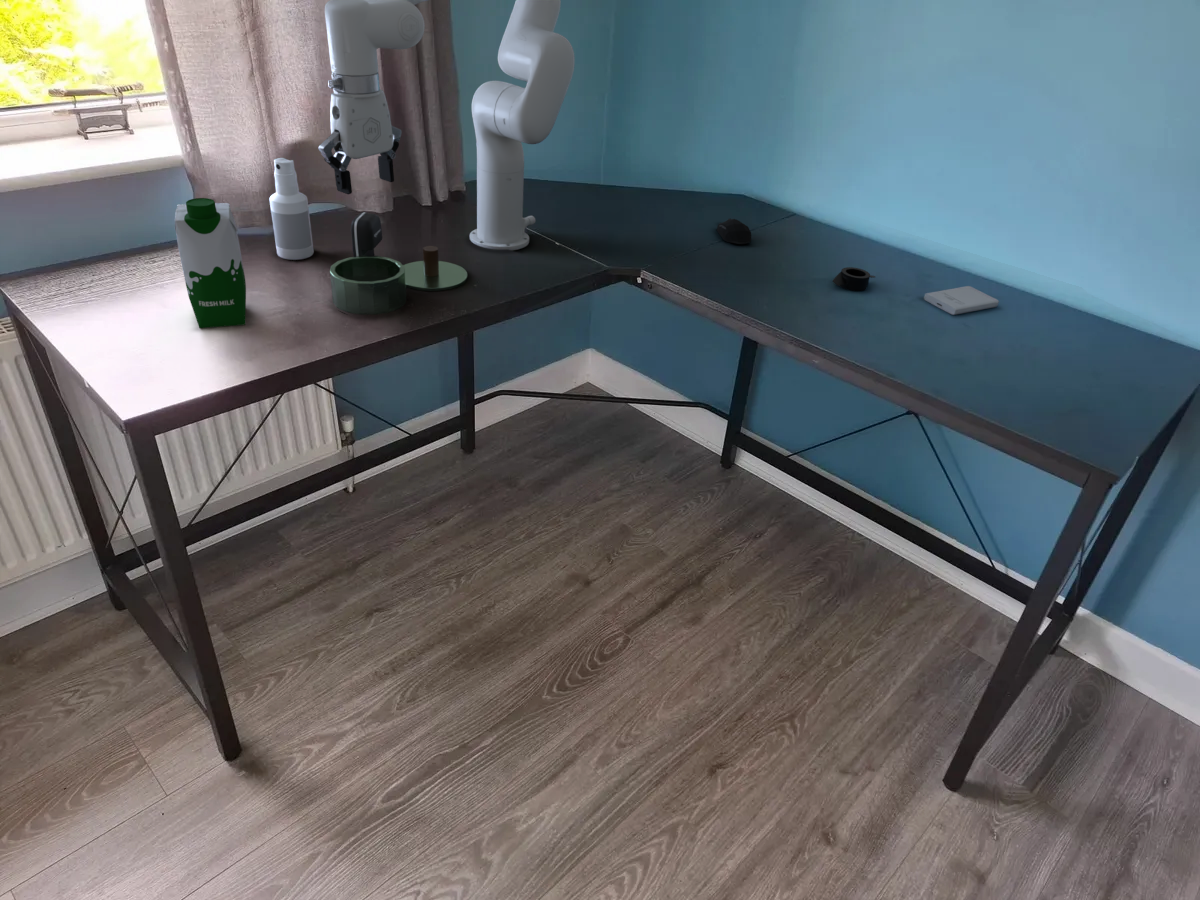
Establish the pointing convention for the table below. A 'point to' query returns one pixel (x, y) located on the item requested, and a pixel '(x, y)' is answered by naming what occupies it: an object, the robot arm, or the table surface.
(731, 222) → the gaming mouse
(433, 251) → the lid
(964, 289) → the hard drive
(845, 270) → the duct tape
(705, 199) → the table surface
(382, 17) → the robot arm
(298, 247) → the spray bottle
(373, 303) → the pot
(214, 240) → the milk carton
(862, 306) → the table surface
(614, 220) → the table surface
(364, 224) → the battery charger
